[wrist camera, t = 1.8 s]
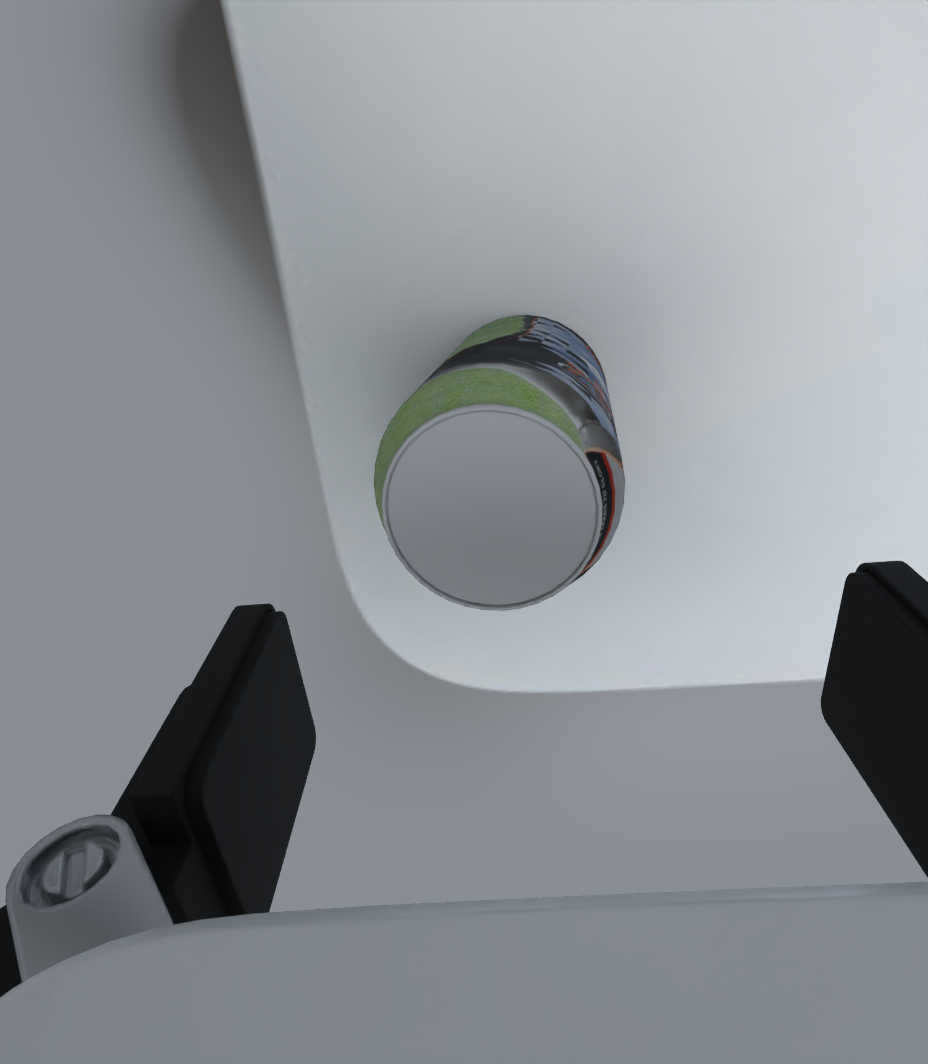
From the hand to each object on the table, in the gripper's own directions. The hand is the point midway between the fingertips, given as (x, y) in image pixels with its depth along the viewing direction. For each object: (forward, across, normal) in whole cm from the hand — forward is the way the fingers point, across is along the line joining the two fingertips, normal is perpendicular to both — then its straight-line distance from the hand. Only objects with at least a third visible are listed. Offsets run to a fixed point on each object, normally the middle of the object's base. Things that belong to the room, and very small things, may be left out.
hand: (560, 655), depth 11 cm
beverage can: (+16, 0, 0) cm, 16 cm away
